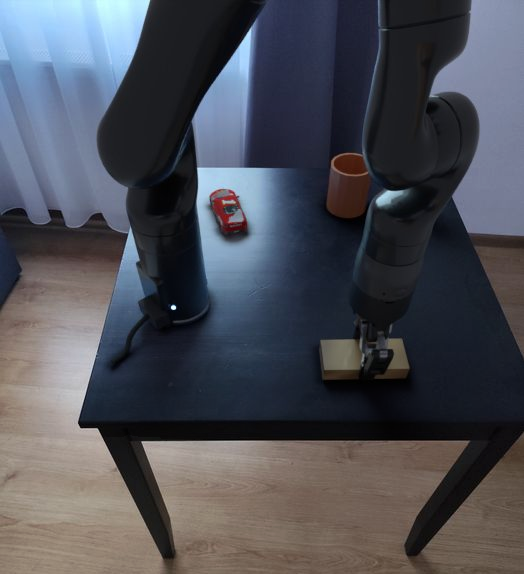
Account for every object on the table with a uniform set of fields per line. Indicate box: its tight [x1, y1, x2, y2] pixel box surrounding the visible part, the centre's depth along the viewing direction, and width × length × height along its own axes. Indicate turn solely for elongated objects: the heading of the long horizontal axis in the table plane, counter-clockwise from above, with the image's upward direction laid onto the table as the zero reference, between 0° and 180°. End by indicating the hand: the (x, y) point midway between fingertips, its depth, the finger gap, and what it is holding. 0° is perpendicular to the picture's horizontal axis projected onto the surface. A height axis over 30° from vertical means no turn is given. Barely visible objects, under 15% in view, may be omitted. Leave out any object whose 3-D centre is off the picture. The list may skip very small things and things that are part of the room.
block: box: [318, 338, 411, 381], centre depth 69 cm, size 12×6×2 cm, turn 91°
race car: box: [208, 188, 248, 236], centre depth 91 cm, size 13×5×4 cm, turn 15°
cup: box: [325, 152, 373, 219], centre depth 91 cm, size 8×8×9 cm
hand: (362, 361), depth 70 cm, fingers closed on block, 5 cm apart
